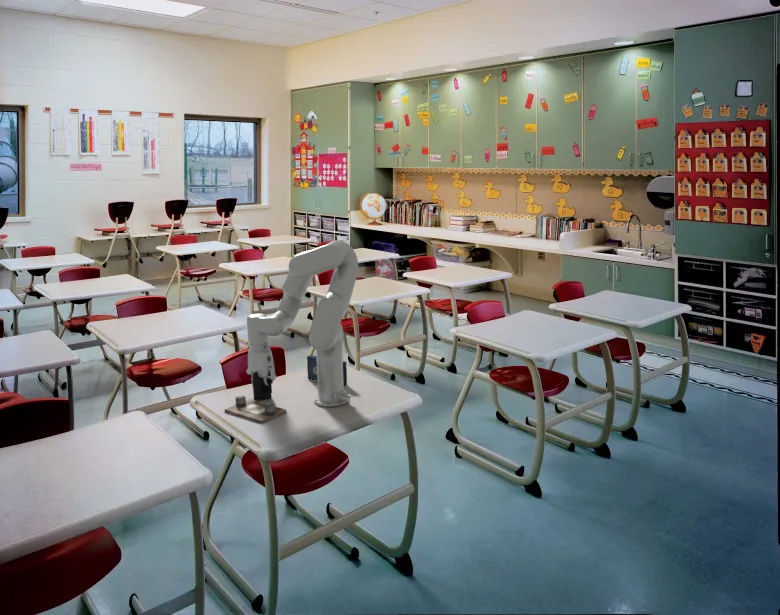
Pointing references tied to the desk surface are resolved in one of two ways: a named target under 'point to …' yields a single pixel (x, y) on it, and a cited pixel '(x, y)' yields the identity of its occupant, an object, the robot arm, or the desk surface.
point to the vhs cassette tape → (313, 369)
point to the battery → (258, 387)
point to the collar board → (254, 410)
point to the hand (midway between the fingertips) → (262, 392)
